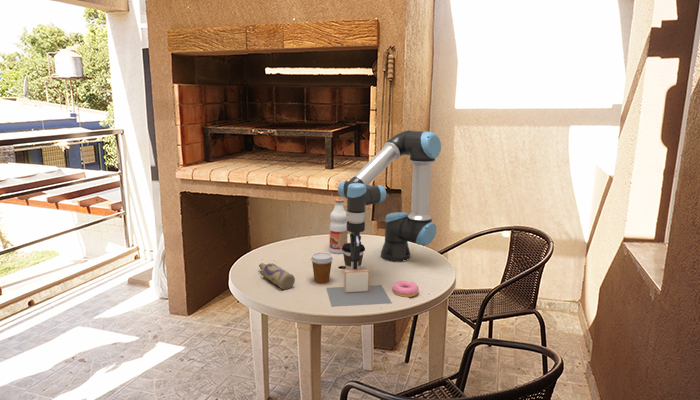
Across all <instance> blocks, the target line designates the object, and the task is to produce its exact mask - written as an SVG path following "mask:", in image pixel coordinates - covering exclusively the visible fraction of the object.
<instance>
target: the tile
mask: <svg viewBox="0 0 700 400" xmlns="http://www.w3.org/2000/svg"><path fill="white" fill-rule="evenodd" d="M343 273H344V274H343V287H344V292H345V293H349V292H368V290H369V286H370V284H369V283H370V282H369V280H370V270H369V268H367V269H365V268H364V269H361V268H360V270H346V269H344V270H343Z"/></svg>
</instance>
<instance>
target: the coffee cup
mask: <svg viewBox="0 0 700 400" xmlns="http://www.w3.org/2000/svg"><path fill="white" fill-rule="evenodd" d="M342 250H343V253H342V254H343V261H344V266H345V270H351V256H350V255H351V248H350V242H347V244H344V245H343V247H342ZM365 251H366V247H365V245H363V244H362V243H361V247H360V259H359V260H360V261H359V262H358V270H361V267H362V262H363V259H364V257H363V256H364V252H365Z"/></svg>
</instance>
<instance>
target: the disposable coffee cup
mask: <svg viewBox="0 0 700 400" xmlns="http://www.w3.org/2000/svg"><path fill="white" fill-rule="evenodd" d="M310 260H311V263H312V269H313V271H312V273H313V277H314V278H313V279H314V282H315V283H317V284H327V283H329V281H330V278H331V277H330V276H331V271H332V264H333V263H332V262H333V260H334V257H333V256H332V254H330V253H328V252H316V253H313V254H312V255H311V257H310Z"/></svg>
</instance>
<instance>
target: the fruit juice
mask: <svg viewBox="0 0 700 400" xmlns="http://www.w3.org/2000/svg"><path fill="white" fill-rule="evenodd" d="M333 202H334V206H333V210H332V211H331V212H330V215H329V216H330V217H329V219H330V223H329V252H330V253H332V254H335V255H336V254H338V255H341V254H343V250H342V247H343V245H344V244H347V243H348V232H349V231H347V216H346V214H347V210H345V208H344V202H345V200H344V198H335V199H334V201H333Z"/></svg>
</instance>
